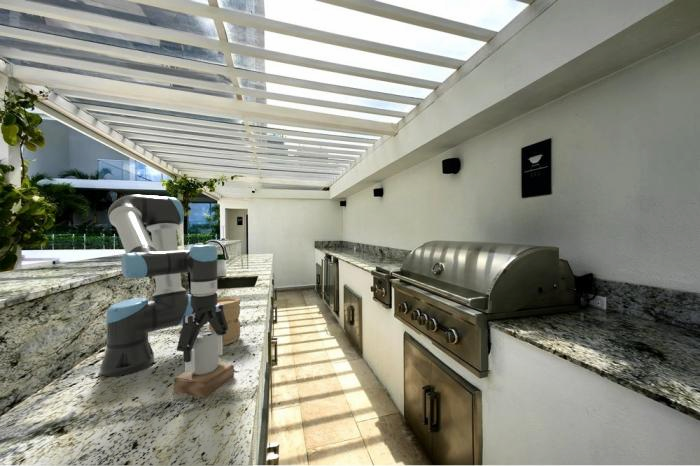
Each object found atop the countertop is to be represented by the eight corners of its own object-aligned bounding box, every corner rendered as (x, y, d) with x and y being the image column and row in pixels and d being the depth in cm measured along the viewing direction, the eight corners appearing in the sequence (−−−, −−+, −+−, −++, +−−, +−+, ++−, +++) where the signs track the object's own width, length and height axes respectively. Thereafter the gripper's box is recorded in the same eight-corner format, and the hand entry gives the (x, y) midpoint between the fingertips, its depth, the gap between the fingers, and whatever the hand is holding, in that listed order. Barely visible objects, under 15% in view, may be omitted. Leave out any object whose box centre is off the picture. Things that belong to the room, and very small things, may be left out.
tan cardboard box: (173, 391, 83) (173, 377, 83) (204, 371, 94) (204, 359, 94) (206, 398, 80) (205, 383, 80) (234, 376, 91) (233, 364, 91)
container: (225, 348, 113) (225, 305, 113) (202, 344, 117) (201, 302, 117) (246, 337, 125) (246, 297, 125) (224, 333, 129) (224, 295, 129)
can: (207, 377, 83) (206, 338, 82) (185, 375, 84) (185, 336, 84) (223, 365, 90) (222, 329, 90) (203, 363, 91) (202, 328, 91)
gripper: (181, 304, 74) (182, 383, 75) (238, 286, 97) (239, 348, 97) (160, 302, 76) (161, 379, 77) (221, 285, 99) (221, 345, 99)
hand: (205, 362), depth 87 cm, fingers open, 11 cm apart
